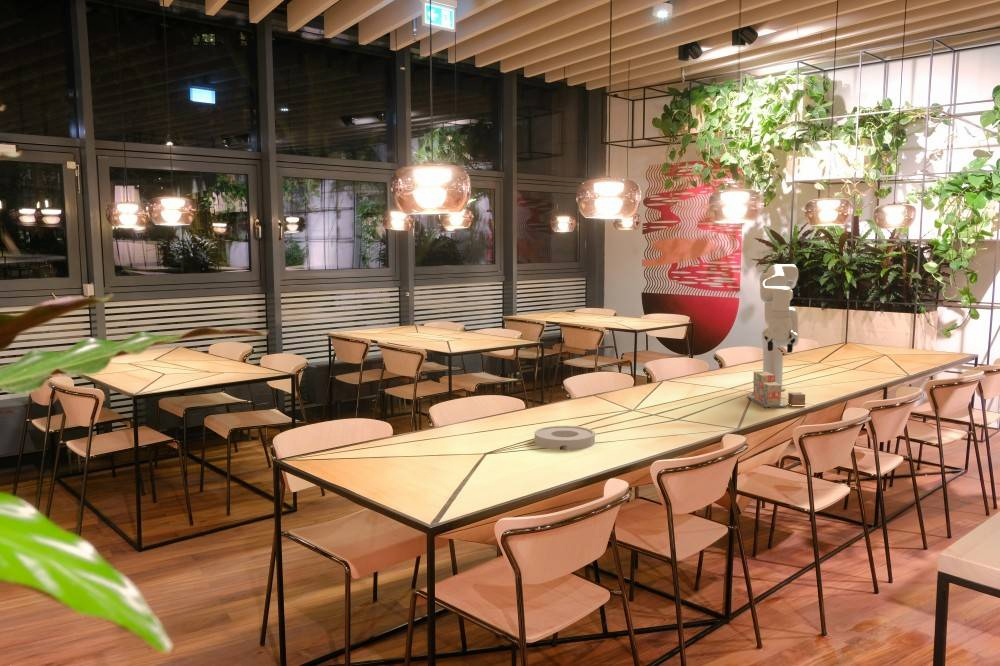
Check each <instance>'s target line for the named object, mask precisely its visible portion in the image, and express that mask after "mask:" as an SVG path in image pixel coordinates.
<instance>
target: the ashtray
mask: <svg viewBox="0 0 1000 666" xmlns="http://www.w3.org/2000/svg"><path fill="white" fill-rule="evenodd" d="M595 439H596V431H594V430H593V429H590V428H588V427H584V426H576V425H553V426H546V427H541V428H538V429H536V430H535V431H534V444H535V445H536V446H538V447H541V448H544V449H548V450H555V451H556V450H559V451H560V450H561V449H563V450H566V451H573V450H574V451H575V450H582V449H587V448H590V447H592V446H594V445H595Z"/></svg>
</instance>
